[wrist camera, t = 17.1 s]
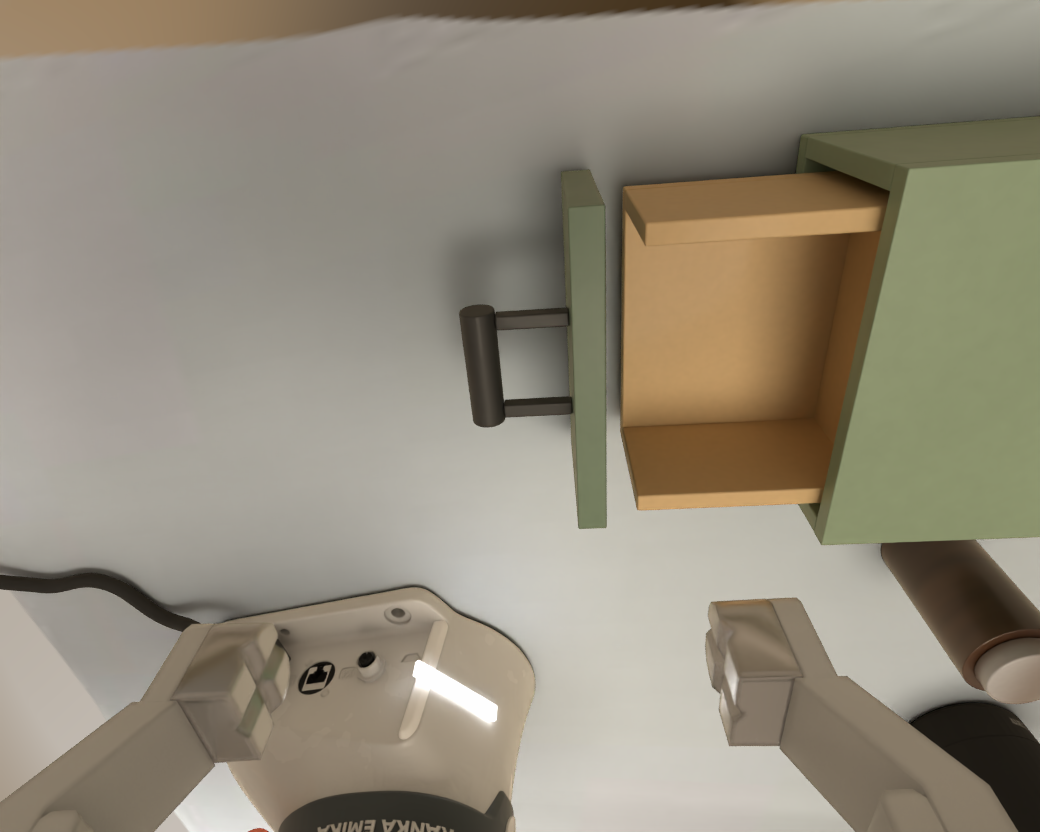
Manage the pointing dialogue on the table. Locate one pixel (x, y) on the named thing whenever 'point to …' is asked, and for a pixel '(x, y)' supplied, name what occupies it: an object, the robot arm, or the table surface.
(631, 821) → the table surface
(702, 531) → the table surface
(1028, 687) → the brown cylinder
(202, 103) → the table surface
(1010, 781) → the pen holder
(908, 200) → the cabinet
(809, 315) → the drawer
